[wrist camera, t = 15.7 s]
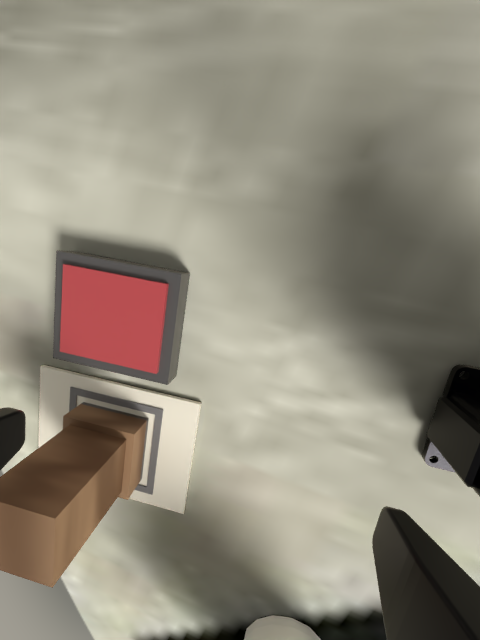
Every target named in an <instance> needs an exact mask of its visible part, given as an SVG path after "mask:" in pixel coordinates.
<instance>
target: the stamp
mask: <svg viewBox="0 0 480 640" xmlns="http://www.w3.org/2000/svg"><path fill="white" fill-rule="evenodd" d="M148 421H149V418H146V417H142V416H138V415H134V414H130V413H126V412H122V411H118V410H114V409H110V408H106V407H102V406H98V405H94V404H90V403H86V402H83V403H81V404H80V405H78V406H77V407H76V408H74V409H73V410H71V411H70V412H68V413H67V414H65V415H64V416H63V430H62V431H61V432H59V433H58V434H57V435H55V436H54V437H53V438H51V439H50V440H49V441H47V442H46V443H45V444H43V445H42V446H41V447H39V448H38V449H37V450H35V451H34V452H33V453H31V454H30V455H29V456H27V457H26V458H25V459H23V460H22V461H21V462H19V463H18V464H17V465H16V466H14V467H13V468H12V469H10V470H9V471H8V472H6V473H5V474H4V475H2V476H1V477H0V570H2V571H4V572H8V573H10V574H13V575H16V576H19V577H22V578H25V579H28V580H32V581H34V582H37V583H40V584H43V585H46V586H49V587H53V586H54V585H55V584H56V582H57V581H58V579H59V578H60V577H61V575H62V574H63V572H64V571H65V570H66V568H67V567H68V565H69V564H70V563H71V561H72V560H73V558H74V557H75V556H76V554H77V553H78V551H79V550H80V549H81V547H82V546H83V545H84V543H85V542H86V540H87V539H88V538H89V536H90V535H91V533H92V532H93V531H94V529H95V528H96V526H97V525H98V524H99V522H100V521H101V519H102V518H103V517H104V515H105V514H106V512H107V511H108V510H109V508H110V507H111V506H112V504H113V503H114V501H115V500H116V499H117V497H120V498H123V499H127V500H128V499H129V497H130V496H131V494H132V493H133V491H134V490H135V488H136V487H137V485H138V484H139V482H140V481H141V479H142V474H143V465H144V456H145V447H146V439H147V430H148Z"/></svg>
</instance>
